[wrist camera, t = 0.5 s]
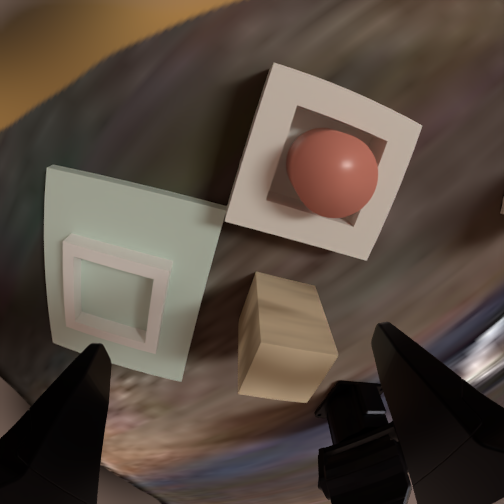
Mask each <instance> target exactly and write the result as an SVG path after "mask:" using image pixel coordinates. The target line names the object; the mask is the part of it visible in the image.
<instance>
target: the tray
mask: <svg viewBox="0 0 504 504" xmlns="http://www.w3.org/2000/svg"><path fill="white" fill-rule="evenodd" d="M226 209H227V206H225V205H221V204H217V203H213V202H209V201H206V200H202V199H198V198H194V197H190V196H186V195H182V194H178V193H174V192H170V191H166V190H162V189H158V188H154V187H150V186H146V185H142V184H137V183H133V182H129V181H125V180H120V179H116V178H112V177H107V176H103V175H99V174H94V173H90V172H85V171H81V170H76V169H72V168H67V167H62V166H57V165H52V166H49V167H47V171H46V184H45V204H44V257H45V277H46V290H47V301H48V310H49V319H50V326H51V333H52V340H53V343H55V344H58V345H60V346H63V347H66V348H68V349H71V350H74V351H77V352H79V353H82V352H83V350H84V349H85V348H86V347H87V346H88V345H89V344H91V343H102V344H103V345H104V347H105V349H106V351H107V353H108V355H109V357H110V359H111V363H113V364H116V365H119V366H123V367H126V368H130V369H133V370H137V371H140V372H144V373H148V374H151V375H155V376H159V377H163V378H167V379H171V380H175V381H180V382H181V381H182V377H183V373H184V369H185V364H186V360H187V356H188V352H189V348H190V344H191V340H192V336H193V332H194V328H195V324H196V320H197V316H198V312H199V309H200V305H201V301H202V297H203V293H204V289H205V286H206V282H207V278H208V274H209V271H210V267H211V263H212V260H213V256H214V252H215V249H216V245H217V242H218V238H219V234H220V231H221V227H222V224H223V220H224V217H225V213H226Z"/></svg>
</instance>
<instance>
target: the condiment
mask: <svg viewBox="0 0 504 504" xmlns="http://www.w3.org/2000/svg"><path fill="white" fill-rule="evenodd" d="M500 214H504V198H503V204H502V208H501V212H500Z"/></svg>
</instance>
